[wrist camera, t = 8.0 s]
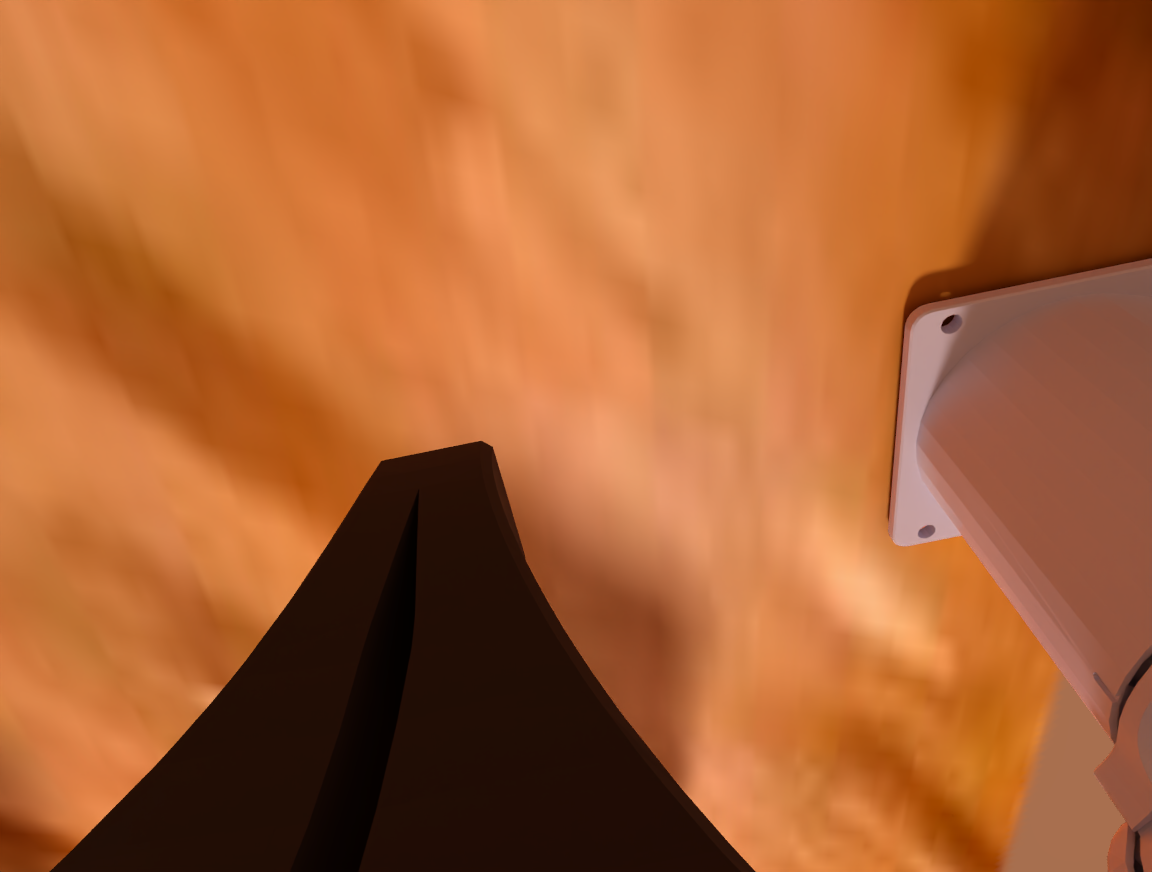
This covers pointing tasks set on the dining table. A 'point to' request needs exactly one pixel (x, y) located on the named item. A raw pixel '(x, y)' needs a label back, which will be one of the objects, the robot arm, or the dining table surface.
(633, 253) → the dining table surface
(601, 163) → the dining table surface
